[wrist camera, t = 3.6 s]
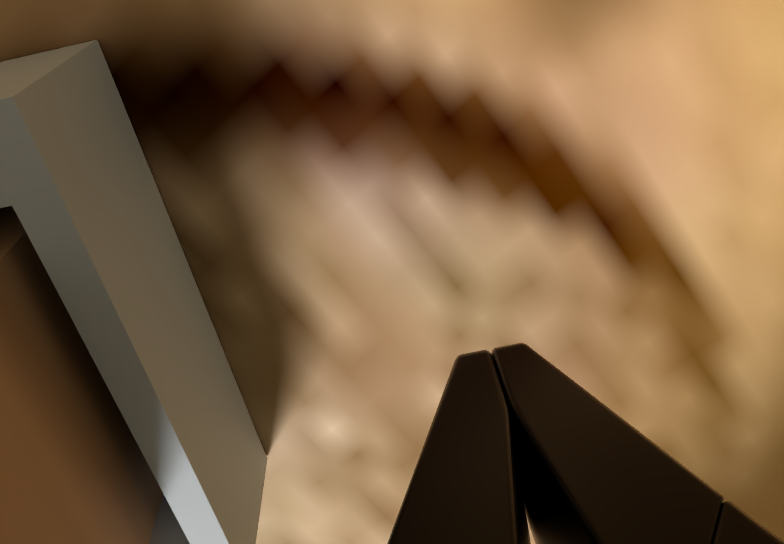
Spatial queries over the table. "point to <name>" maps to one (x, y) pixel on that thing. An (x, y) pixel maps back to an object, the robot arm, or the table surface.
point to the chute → (129, 289)
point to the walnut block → (60, 421)
